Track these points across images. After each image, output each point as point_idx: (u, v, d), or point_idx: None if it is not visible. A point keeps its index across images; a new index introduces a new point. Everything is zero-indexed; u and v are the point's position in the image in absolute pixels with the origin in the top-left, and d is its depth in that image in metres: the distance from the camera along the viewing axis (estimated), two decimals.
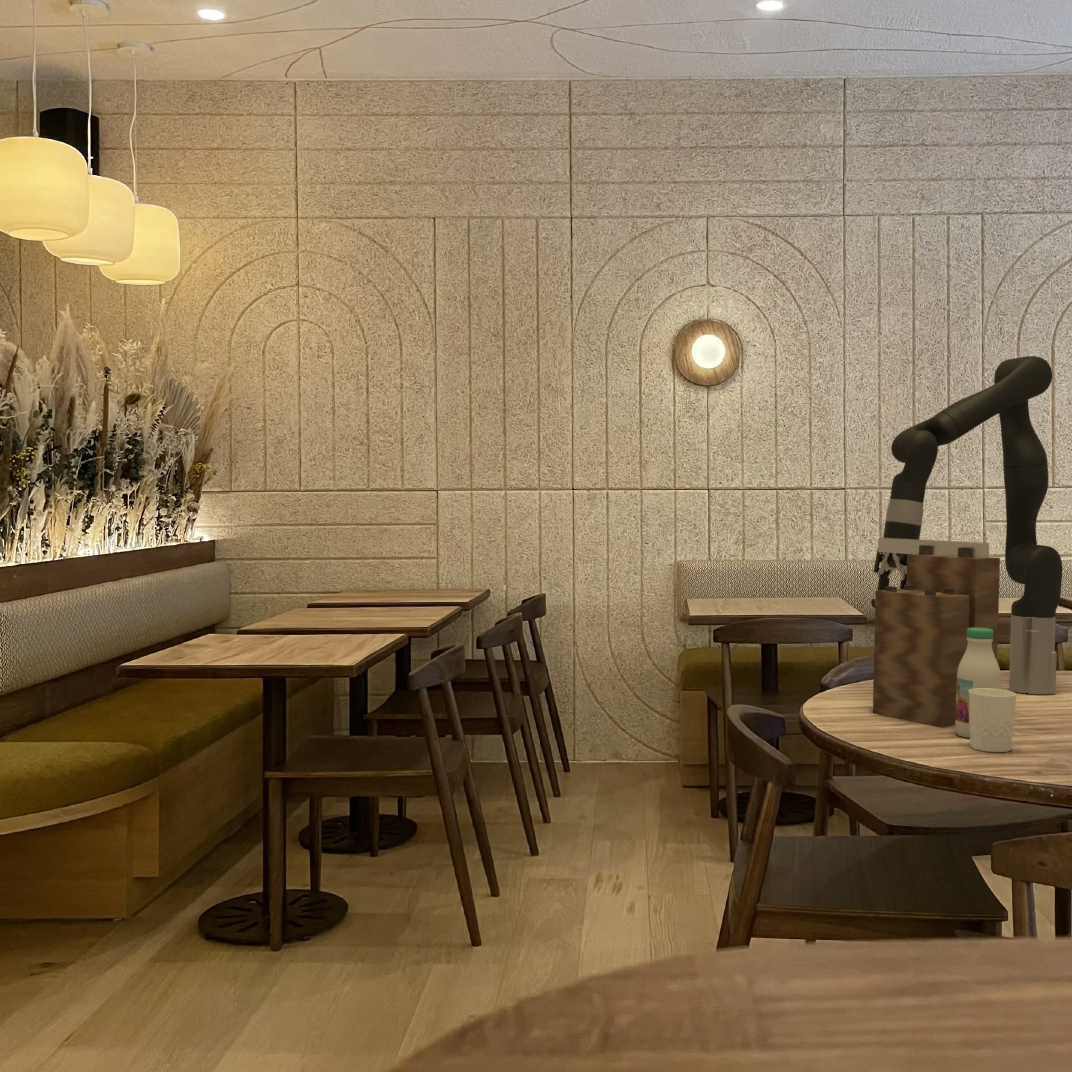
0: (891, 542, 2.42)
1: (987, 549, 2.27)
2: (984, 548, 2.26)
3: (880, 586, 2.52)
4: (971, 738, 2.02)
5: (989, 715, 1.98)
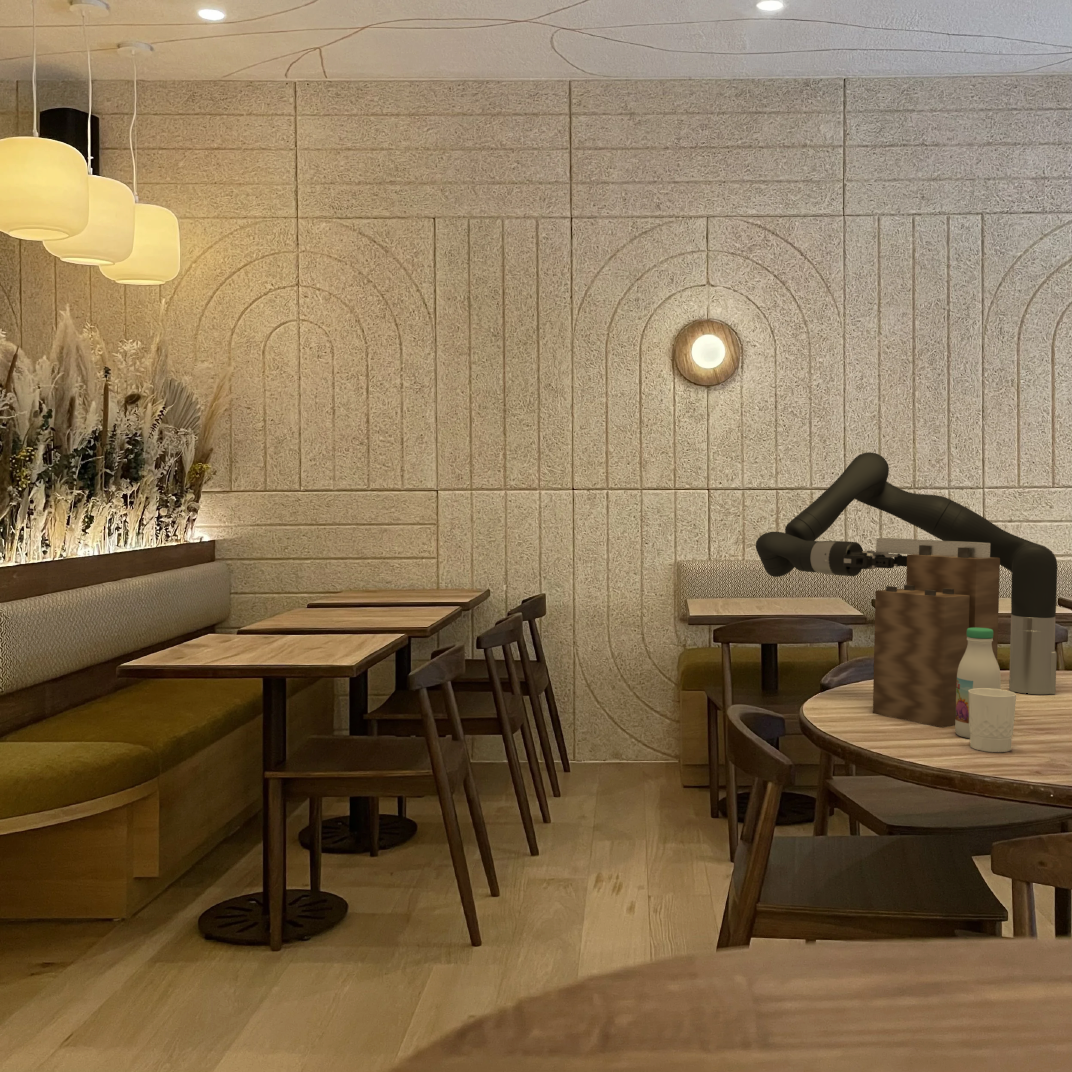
0: (889, 542, 2.41)
1: (988, 549, 2.27)
2: (986, 548, 2.27)
3: None
4: (971, 738, 2.02)
5: (989, 715, 1.98)
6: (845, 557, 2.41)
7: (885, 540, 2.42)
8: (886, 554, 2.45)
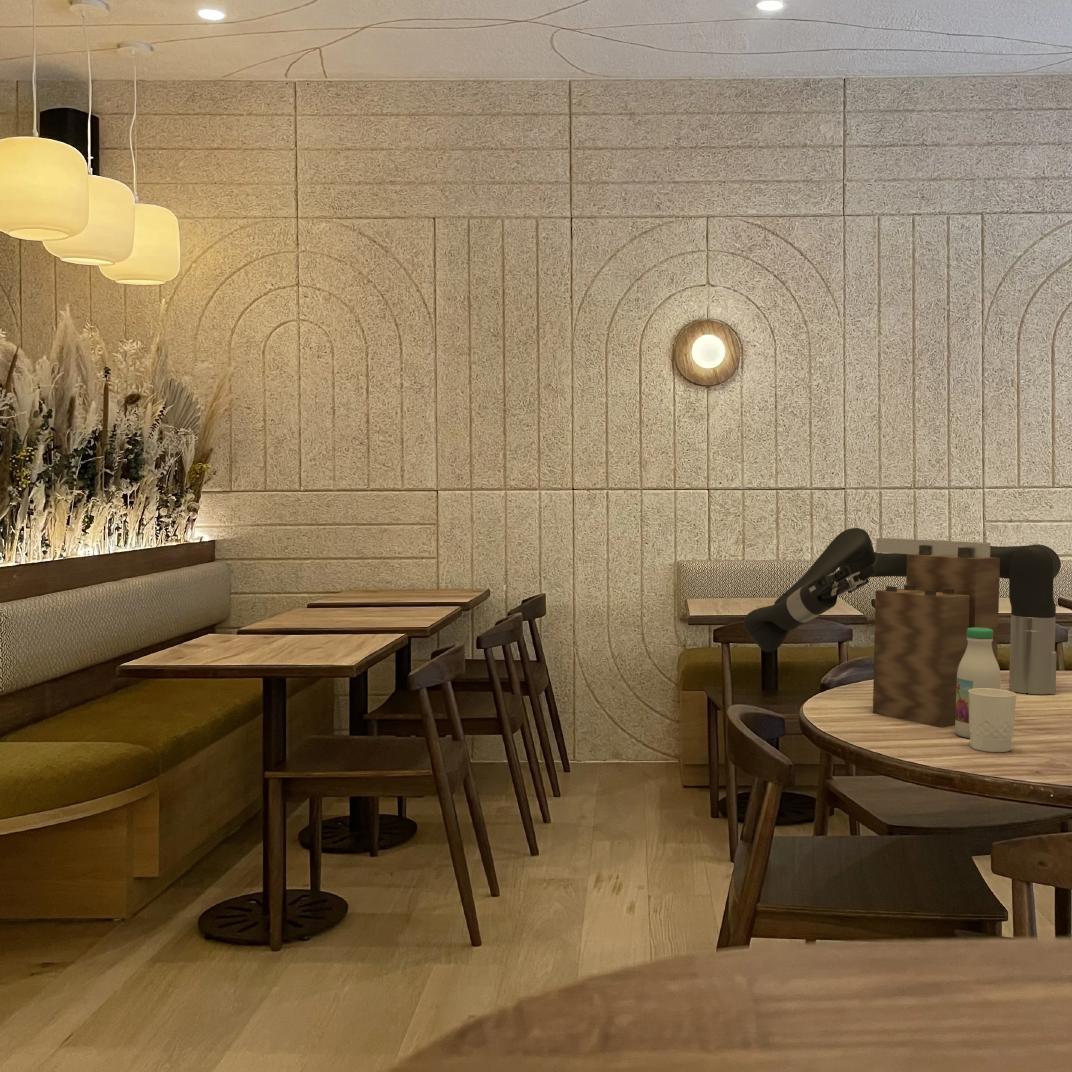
0: (889, 542, 2.41)
1: (988, 549, 2.27)
2: (986, 548, 2.27)
3: (869, 575, 2.54)
4: (971, 738, 2.02)
5: (989, 715, 1.98)
6: (809, 587, 2.54)
7: (885, 540, 2.42)
8: None
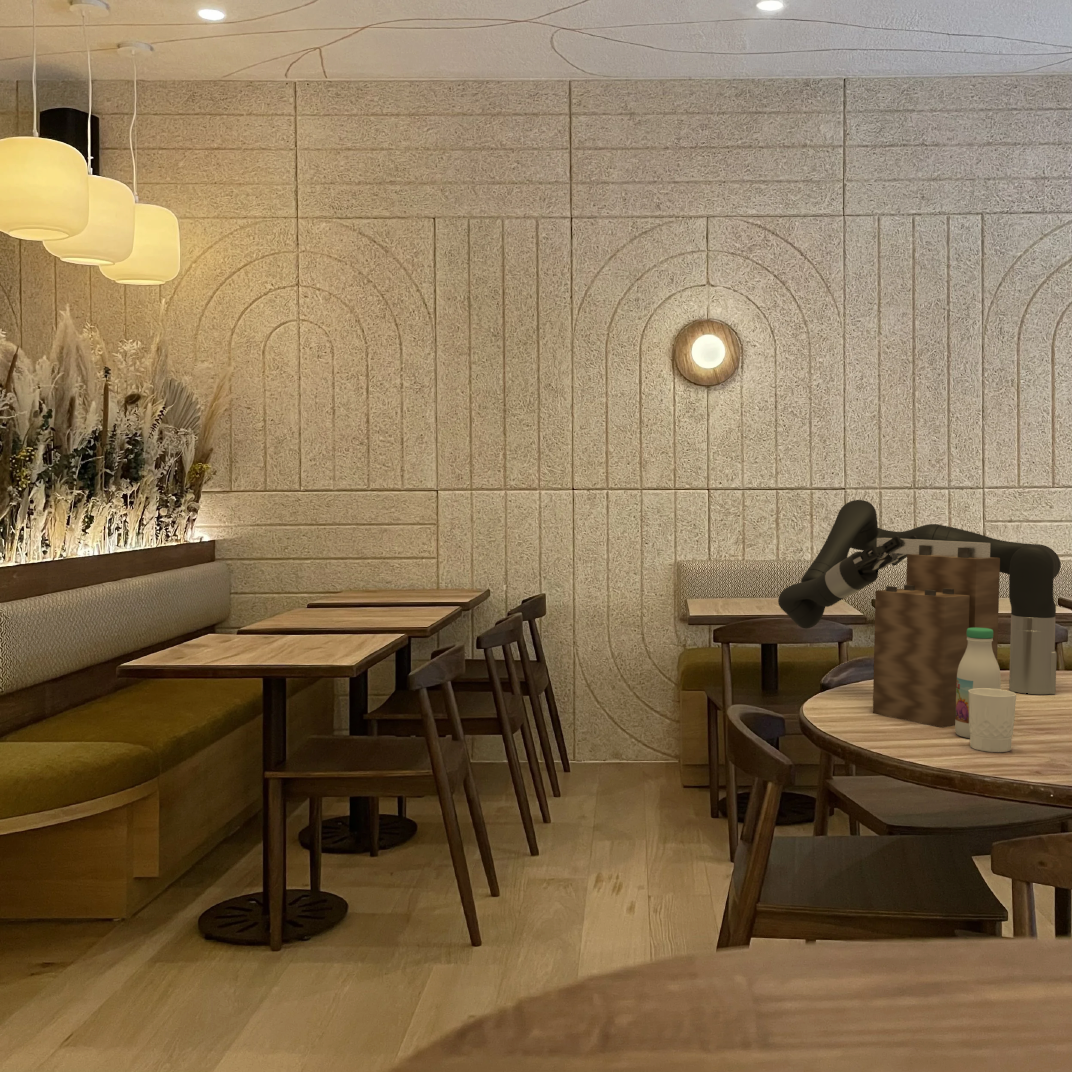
0: None
1: (988, 549, 2.27)
2: (986, 548, 2.27)
3: None
4: (971, 738, 2.02)
5: (989, 715, 1.98)
6: (854, 558, 2.44)
7: (885, 540, 2.42)
8: None
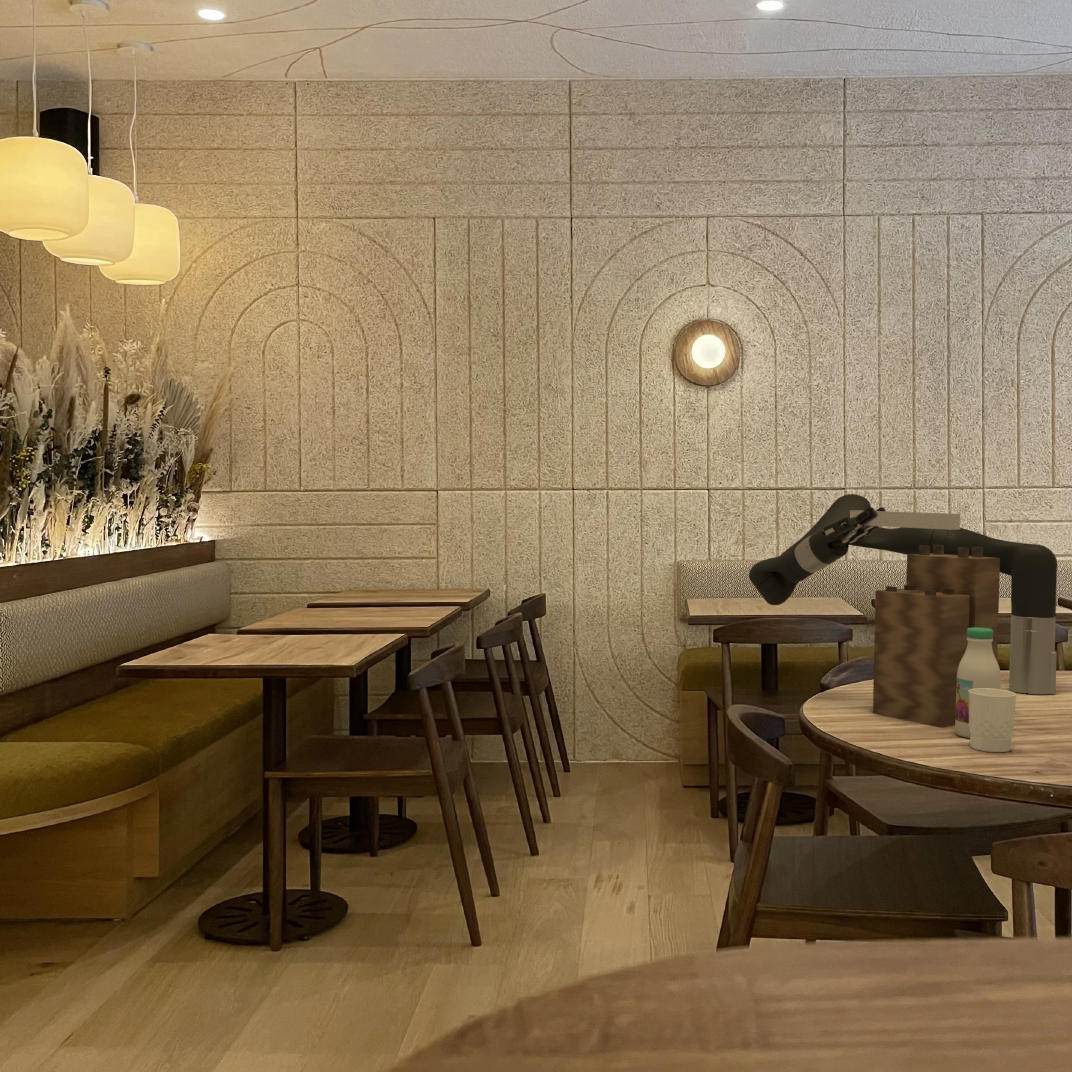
0: None
1: (957, 521, 2.21)
2: (955, 519, 2.20)
3: None
4: (971, 738, 2.02)
5: (989, 715, 1.98)
6: (826, 529, 2.38)
7: (858, 512, 2.37)
8: None
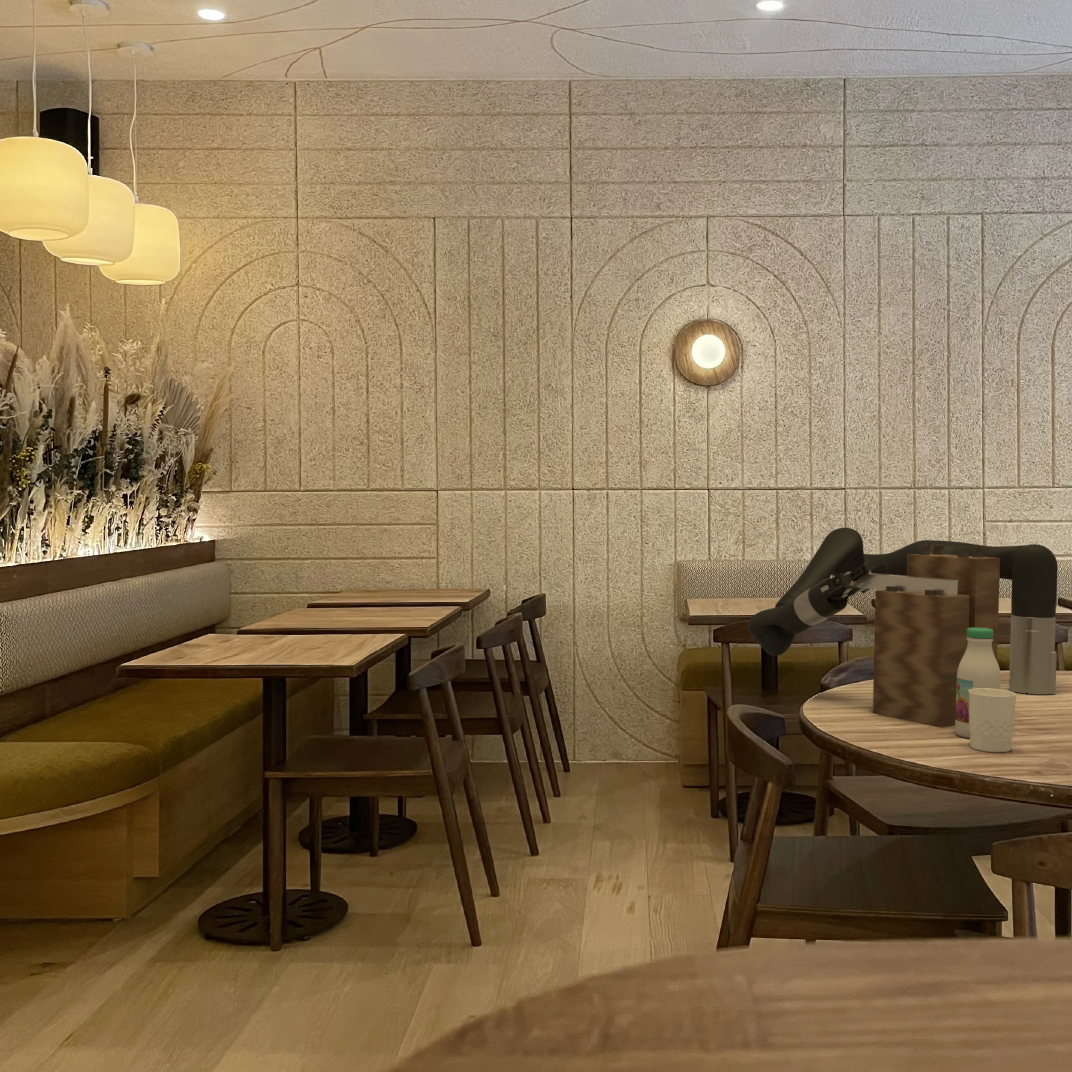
0: None
1: (955, 587, 2.21)
2: (952, 585, 2.21)
3: None
4: (971, 738, 2.02)
5: (989, 715, 1.98)
6: (821, 586, 2.38)
7: None
8: None
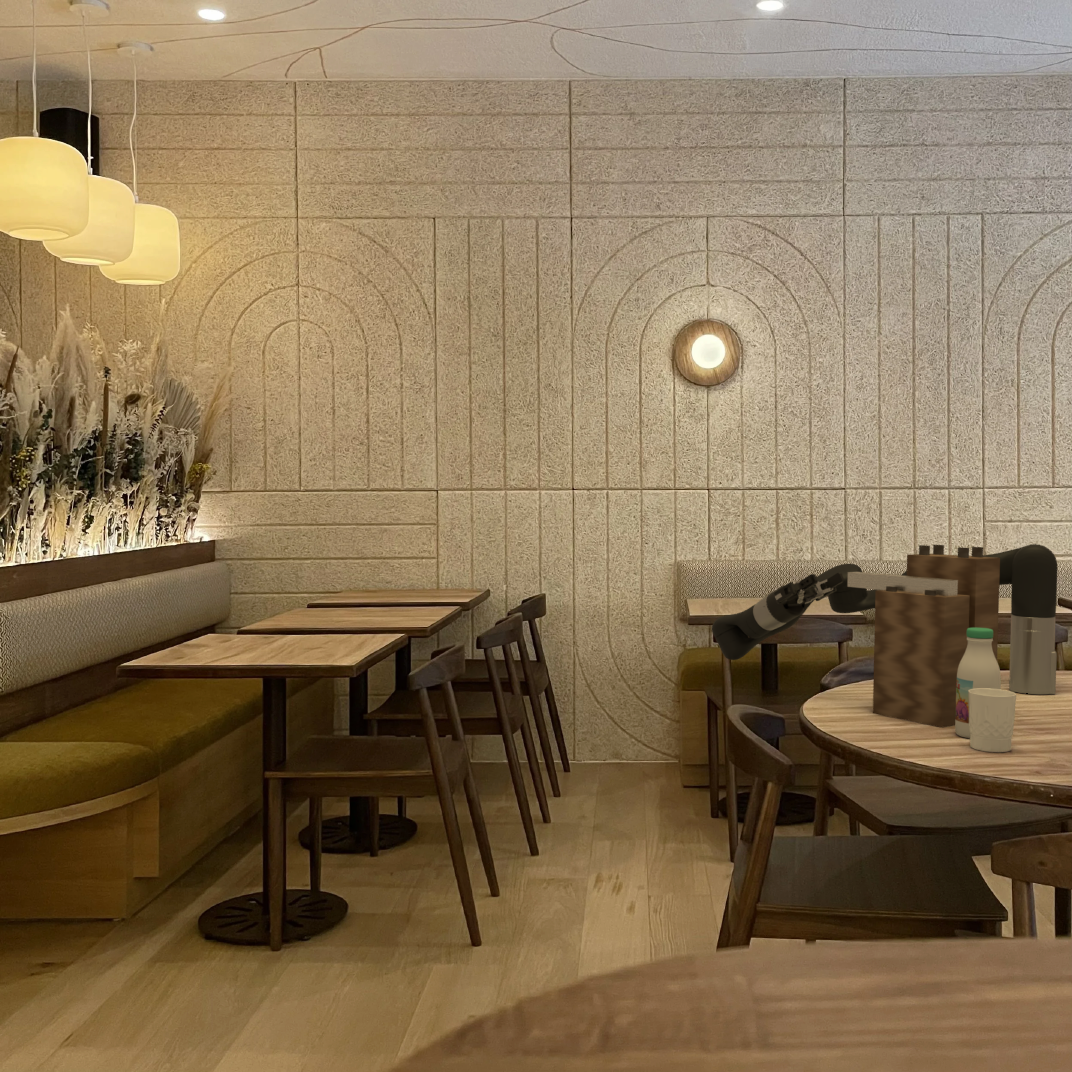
0: (860, 577, 2.37)
1: (955, 587, 2.21)
2: (952, 585, 2.21)
3: (837, 583, 2.48)
4: (971, 738, 2.02)
5: (989, 715, 1.98)
6: (775, 594, 2.49)
7: (856, 574, 2.38)
8: (816, 583, 2.52)
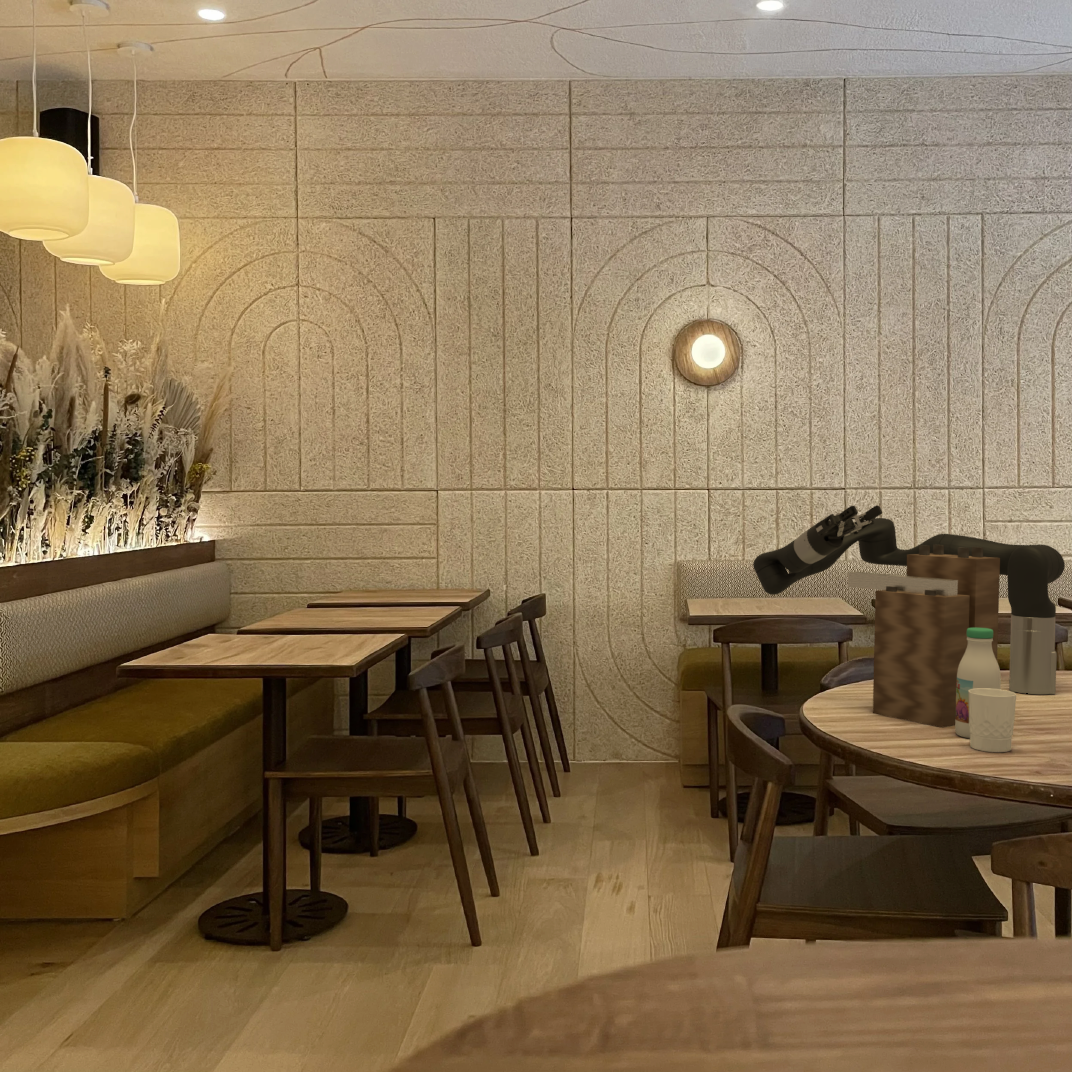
0: (860, 577, 2.37)
1: (955, 587, 2.21)
2: (952, 585, 2.21)
3: (875, 515, 2.60)
4: (971, 738, 2.02)
5: (989, 715, 1.98)
6: (816, 527, 2.60)
7: (856, 574, 2.38)
8: (855, 516, 2.63)
